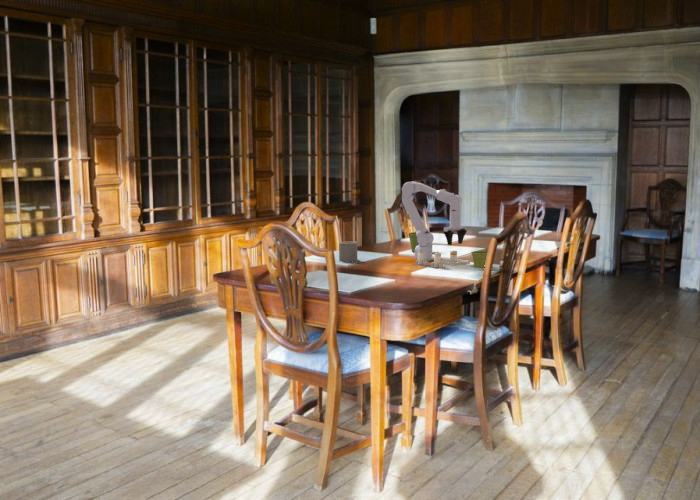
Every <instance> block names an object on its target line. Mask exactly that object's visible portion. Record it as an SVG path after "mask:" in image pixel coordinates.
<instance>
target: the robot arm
mask: <svg viewBox="0 0 700 500" xmlns="http://www.w3.org/2000/svg"><path fill="white" fill-rule="evenodd" d="M400 190H401V202H402V204H403V206H404V208H405V211H406V213H407V214H408V216H409V220H411V223H412V225H413V227H414V229H415V232H416V235H417V241H418V243H419V245H418V246H416V248H415V252H414V260H418V251H419V250H423V251H425V261H428V262H429V261H433V242H434V235H433V234H432V233H431V232H430V231H429V229H428V227H426V226H425V223H424V221H423V220H422V218H421V215H420V214H419V211H418V209H417V207H416V205H415V203H414V201H413V200H414V198H415V195H416V194H417V193H418V192H423V193H425V194H428V195H431V196H434V197H435V199H436V200H437V201H441V202H442V203H445V204H447V205H449V226H446V227H443V235H444V236H445V239H446V243H447V245H449V246H453V245H452V244H453V236H454V232H453V231H456V233H457V234H456V235H457V243H458V245H459V244H461V245H462V244H463V243H464V242H463V240H464V239H465V235H466V234H467V232H468V231H467V226H466V225H462V223H461V222H462V216H461V215H462V213H461V212H462V209H461V206H462V205H461V204H462V203H463V199H462V197H461V195H460V194H455V193H454V192H449V191H447V190H446V189H445V188H442V189H439V190H437V189H435V188H433V187H431V186H429V185H426V184H424V183H422V182H418V181H415V180H414V181H407V182H405V183H404V184H402V187H401V189H400Z"/></svg>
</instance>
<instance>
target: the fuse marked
mask: <svg viewBox="0 0 700 500" xmlns="http://www.w3.org/2000/svg"><path fill="white" fill-rule="evenodd" d="M449 253H450V254H449V256H450V257H449V259H450V261H449V262H451V263H456V262H457V259H458V251H457V250H450V251H449Z"/></svg>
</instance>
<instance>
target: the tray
mask: <svg viewBox="0 0 700 500" xmlns="http://www.w3.org/2000/svg"><path fill="white" fill-rule="evenodd" d="M441 264H443V265H448V266H458V265H460V266H461V265H465V264H469V265H470V264H471V260H467V259H466V260H465V259H461V258H460V259H459V258H457V262H456V263H451V262H450V258H447V259H446V258H445V259H441Z"/></svg>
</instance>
